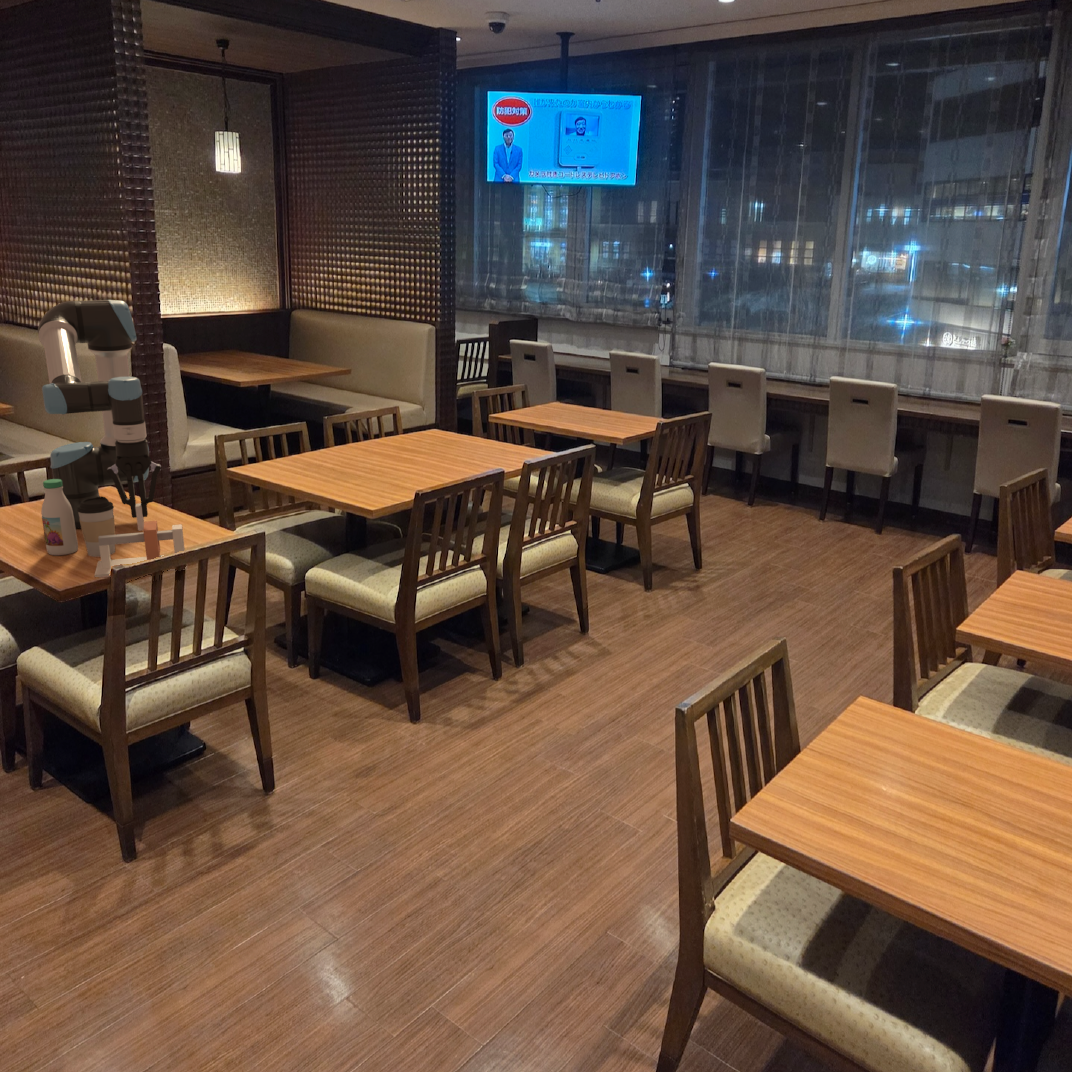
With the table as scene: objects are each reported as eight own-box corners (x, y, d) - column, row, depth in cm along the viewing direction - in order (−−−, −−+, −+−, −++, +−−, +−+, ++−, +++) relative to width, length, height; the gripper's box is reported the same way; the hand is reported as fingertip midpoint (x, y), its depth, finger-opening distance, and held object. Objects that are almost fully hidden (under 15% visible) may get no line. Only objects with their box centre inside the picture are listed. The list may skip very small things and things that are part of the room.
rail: (98, 563, 252) (93, 527, 249) (187, 555, 259) (183, 520, 256) (94, 577, 242) (89, 540, 239) (186, 569, 249) (183, 532, 246)
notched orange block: (148, 550, 254) (144, 521, 251) (160, 549, 255) (156, 520, 252) (146, 560, 247) (143, 530, 244) (159, 559, 247) (155, 529, 245)
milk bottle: (70, 545, 266) (60, 475, 260) (83, 551, 262) (73, 480, 256) (42, 551, 261) (31, 480, 254) (55, 558, 256) (44, 486, 250)
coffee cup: (106, 559, 256) (98, 505, 251) (76, 556, 257) (68, 503, 253) (126, 548, 264) (119, 496, 259) (97, 546, 266) (90, 494, 261)
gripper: (101, 444, 235) (113, 535, 242) (158, 441, 239) (167, 531, 246) (104, 437, 242) (115, 526, 249) (159, 435, 246) (168, 522, 253)
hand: (141, 528), depth 248 cm, fingers closed
